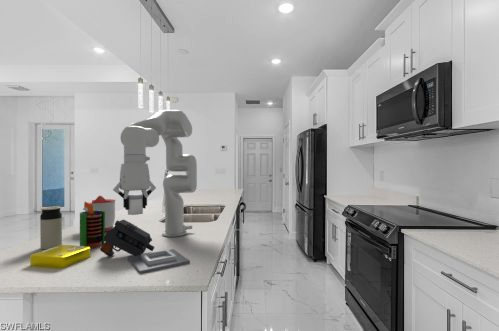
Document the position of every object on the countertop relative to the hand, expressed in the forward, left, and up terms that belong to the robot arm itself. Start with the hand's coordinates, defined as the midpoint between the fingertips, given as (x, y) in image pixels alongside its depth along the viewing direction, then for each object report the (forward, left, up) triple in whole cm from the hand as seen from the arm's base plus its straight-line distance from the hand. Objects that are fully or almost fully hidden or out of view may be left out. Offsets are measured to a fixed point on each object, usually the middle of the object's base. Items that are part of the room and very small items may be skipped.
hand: (135, 208), depth 106 cm
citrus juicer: (+4, -70, -21) cm, 73 cm away
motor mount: (-8, +1, -21) cm, 23 cm away
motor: (+11, -37, -21) cm, 44 cm away
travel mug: (+26, -46, -21) cm, 57 cm away
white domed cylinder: (0, 0, -2) cm, 2 cm away
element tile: (+23, -21, -22) cm, 38 cm away
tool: (0, -13, -21) cm, 25 cm away
